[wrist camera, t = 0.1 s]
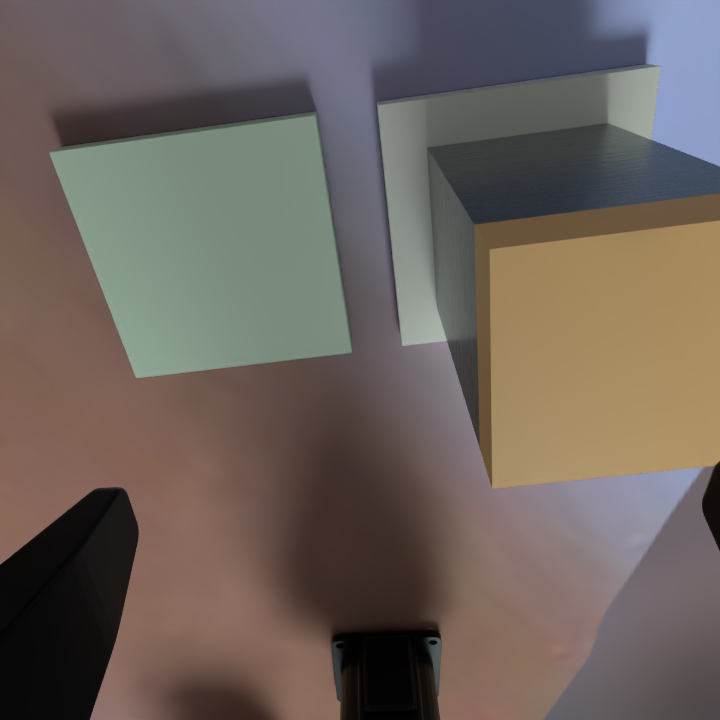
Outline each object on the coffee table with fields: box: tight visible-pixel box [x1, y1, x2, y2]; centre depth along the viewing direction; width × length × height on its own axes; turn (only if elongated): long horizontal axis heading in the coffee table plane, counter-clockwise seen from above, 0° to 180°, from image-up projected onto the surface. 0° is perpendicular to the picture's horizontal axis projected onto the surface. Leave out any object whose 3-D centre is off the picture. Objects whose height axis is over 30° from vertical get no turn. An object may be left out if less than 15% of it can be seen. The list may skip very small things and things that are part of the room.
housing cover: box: [474, 193, 720, 489], centre depth 13 cm, size 6×6×3 cm
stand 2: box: [376, 64, 661, 346], centre depth 21 cm, size 9×9×1 cm
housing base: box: [427, 123, 720, 447], centre depth 17 cm, size 6×6×8 cm
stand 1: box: [49, 111, 352, 378], centre depth 22 cm, size 9×9×1 cm
